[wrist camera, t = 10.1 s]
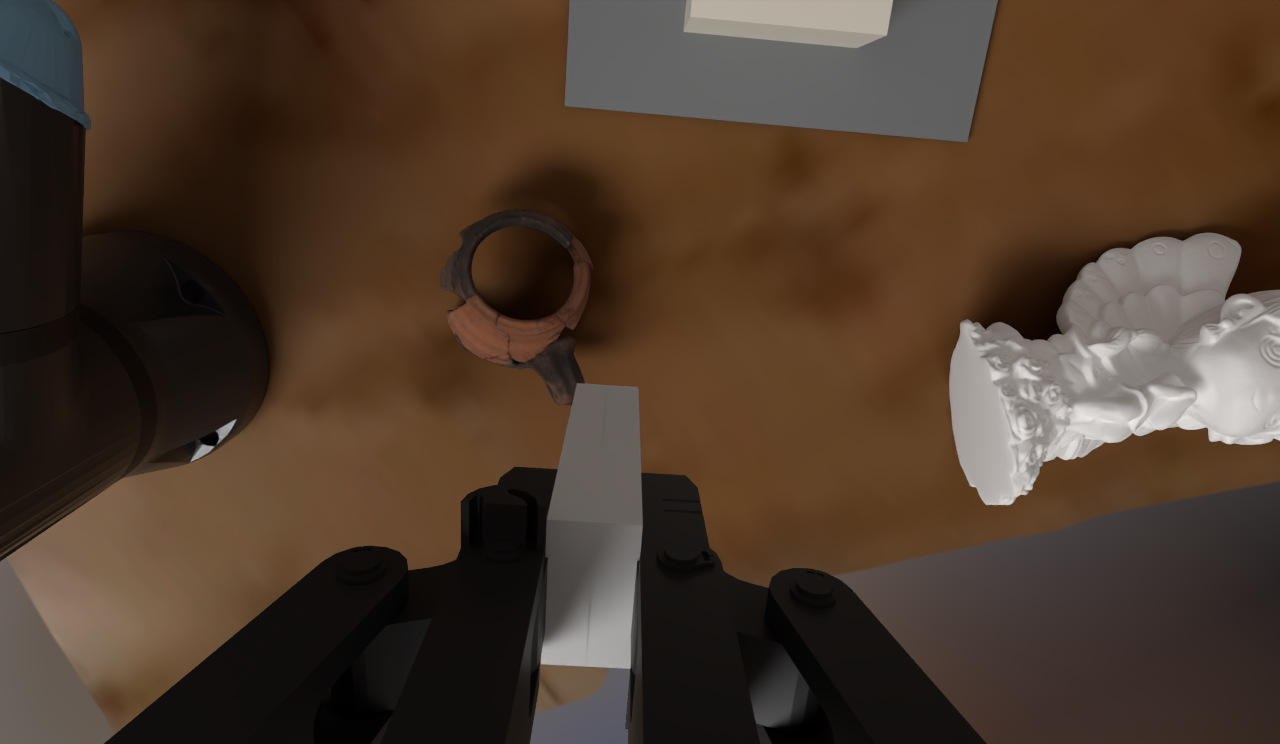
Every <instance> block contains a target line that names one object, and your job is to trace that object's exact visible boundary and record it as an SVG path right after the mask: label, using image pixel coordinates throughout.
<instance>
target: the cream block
mask: <svg viewBox="0 0 1280 744" xmlns="http://www.w3.org/2000/svg"><path fill="white" fill-rule="evenodd" d="M892 4H893V0H686V10H685V21H684V31H683V32H690V33H701V34H711V35H722V36H733V37H743V38H754V39H764V40H775V41H786V42H796V43H807V44H818V45H828V46H839V47H849V48H859V47H861V46H863V45H866V44H868V43H870V42H873V41H875V40H877V39H880V38H882V37H884V36H887V32H888V27H889V21H890V15H891V9H892Z"/></svg>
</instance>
